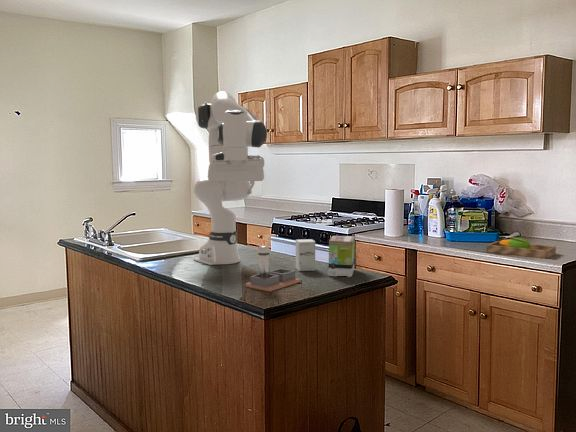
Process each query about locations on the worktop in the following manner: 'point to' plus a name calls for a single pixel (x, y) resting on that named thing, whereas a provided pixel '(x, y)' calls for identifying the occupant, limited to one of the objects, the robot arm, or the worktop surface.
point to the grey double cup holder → (273, 280)
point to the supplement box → (305, 255)
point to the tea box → (341, 256)
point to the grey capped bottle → (264, 262)
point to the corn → (515, 243)
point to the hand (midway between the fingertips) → (236, 194)
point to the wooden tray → (523, 250)
